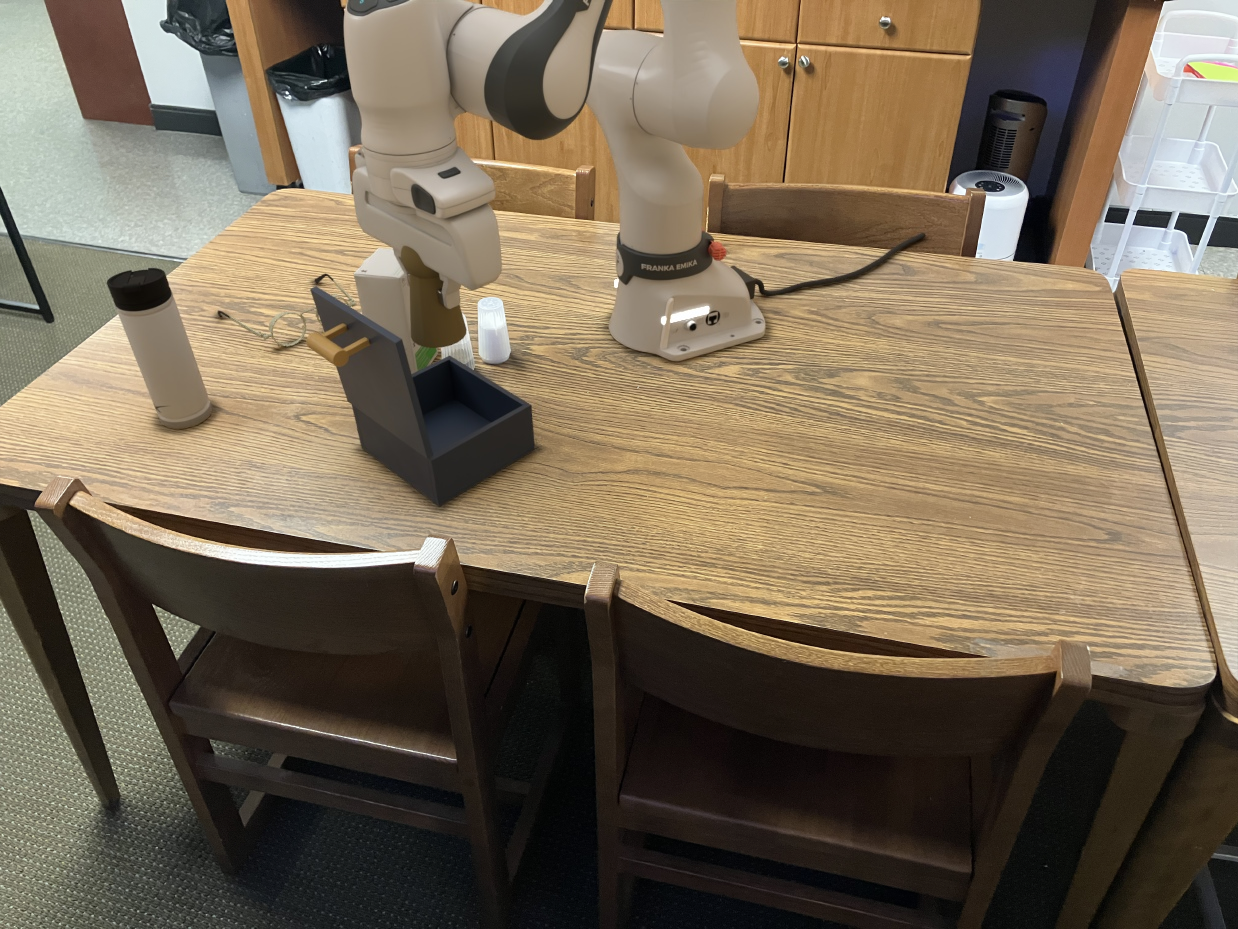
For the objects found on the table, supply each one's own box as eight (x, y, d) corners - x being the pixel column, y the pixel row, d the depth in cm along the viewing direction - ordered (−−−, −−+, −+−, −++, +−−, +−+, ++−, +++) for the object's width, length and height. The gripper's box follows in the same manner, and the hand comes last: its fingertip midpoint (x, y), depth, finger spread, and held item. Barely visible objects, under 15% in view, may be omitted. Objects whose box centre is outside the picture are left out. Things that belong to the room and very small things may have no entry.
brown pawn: (440, 313, 104) (427, 221, 97) (478, 330, 101) (466, 237, 94) (399, 335, 101) (381, 241, 94) (436, 354, 98) (421, 259, 91)
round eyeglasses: (259, 358, 128) (250, 327, 125) (214, 317, 137) (204, 286, 134) (368, 316, 137) (362, 286, 134) (319, 280, 146) (312, 250, 143)
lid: (316, 285, 98) (272, 307, 95) (402, 339, 90) (357, 364, 87) (353, 398, 108) (315, 420, 106) (433, 455, 100) (394, 481, 97)
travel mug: (157, 435, 115) (99, 290, 102) (163, 405, 120) (108, 263, 107) (211, 426, 116) (160, 282, 103) (214, 397, 121) (166, 256, 108)
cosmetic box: (418, 385, 123) (400, 279, 113) (371, 380, 124) (349, 274, 114) (440, 352, 129) (424, 248, 120) (395, 347, 130) (376, 244, 121)
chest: (455, 399, 121) (449, 355, 116) (535, 450, 112) (531, 404, 108) (361, 448, 113) (351, 403, 108) (439, 507, 104) (431, 460, 100)
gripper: (326, 149, 93) (353, 273, 102) (452, 208, 82) (469, 342, 91) (379, 132, 97) (400, 254, 106) (506, 187, 86) (518, 318, 94)
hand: (433, 295), depth 98 cm, fingers closed on brown pawn, 4 cm apart
